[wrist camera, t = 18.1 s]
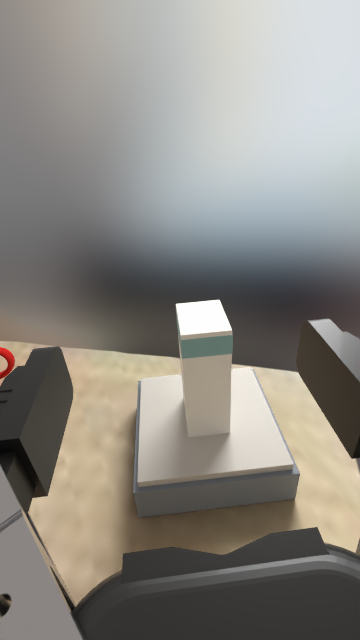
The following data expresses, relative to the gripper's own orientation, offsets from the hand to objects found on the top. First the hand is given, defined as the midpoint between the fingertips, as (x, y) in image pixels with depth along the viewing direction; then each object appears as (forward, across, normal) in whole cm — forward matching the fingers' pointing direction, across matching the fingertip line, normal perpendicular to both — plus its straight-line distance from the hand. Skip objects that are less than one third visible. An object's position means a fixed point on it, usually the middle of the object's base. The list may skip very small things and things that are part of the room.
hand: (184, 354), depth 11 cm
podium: (+17, -3, +27) cm, 32 cm away
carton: (+17, -3, +22) cm, 28 cm away
